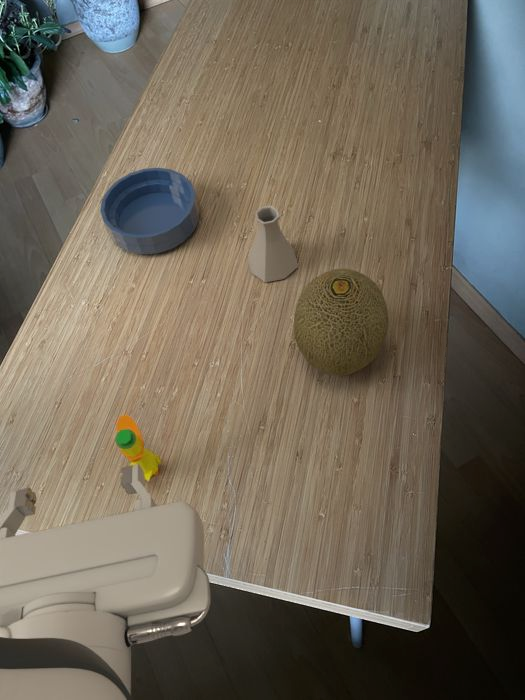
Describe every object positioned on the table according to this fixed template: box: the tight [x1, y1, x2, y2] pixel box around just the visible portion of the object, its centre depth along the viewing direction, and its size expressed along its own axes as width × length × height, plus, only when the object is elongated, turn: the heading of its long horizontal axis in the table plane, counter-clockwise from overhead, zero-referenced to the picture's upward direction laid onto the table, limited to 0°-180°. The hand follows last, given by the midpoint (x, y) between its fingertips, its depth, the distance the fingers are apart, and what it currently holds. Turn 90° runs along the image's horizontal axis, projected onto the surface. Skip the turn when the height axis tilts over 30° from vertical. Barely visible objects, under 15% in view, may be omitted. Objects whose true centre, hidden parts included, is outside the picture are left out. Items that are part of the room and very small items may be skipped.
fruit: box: [293, 268, 390, 377], centre depth 70 cm, size 11×11×15 cm
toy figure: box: [115, 413, 162, 482], centre depth 66 cm, size 7×4×12 cm, turn 22°
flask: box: [247, 204, 299, 283], centre depth 81 cm, size 7×7×10 cm
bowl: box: [99, 167, 200, 255], centre depth 90 cm, size 14×14×4 cm
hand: (78, 480), depth 50 cm, fingers open, 8 cm apart
